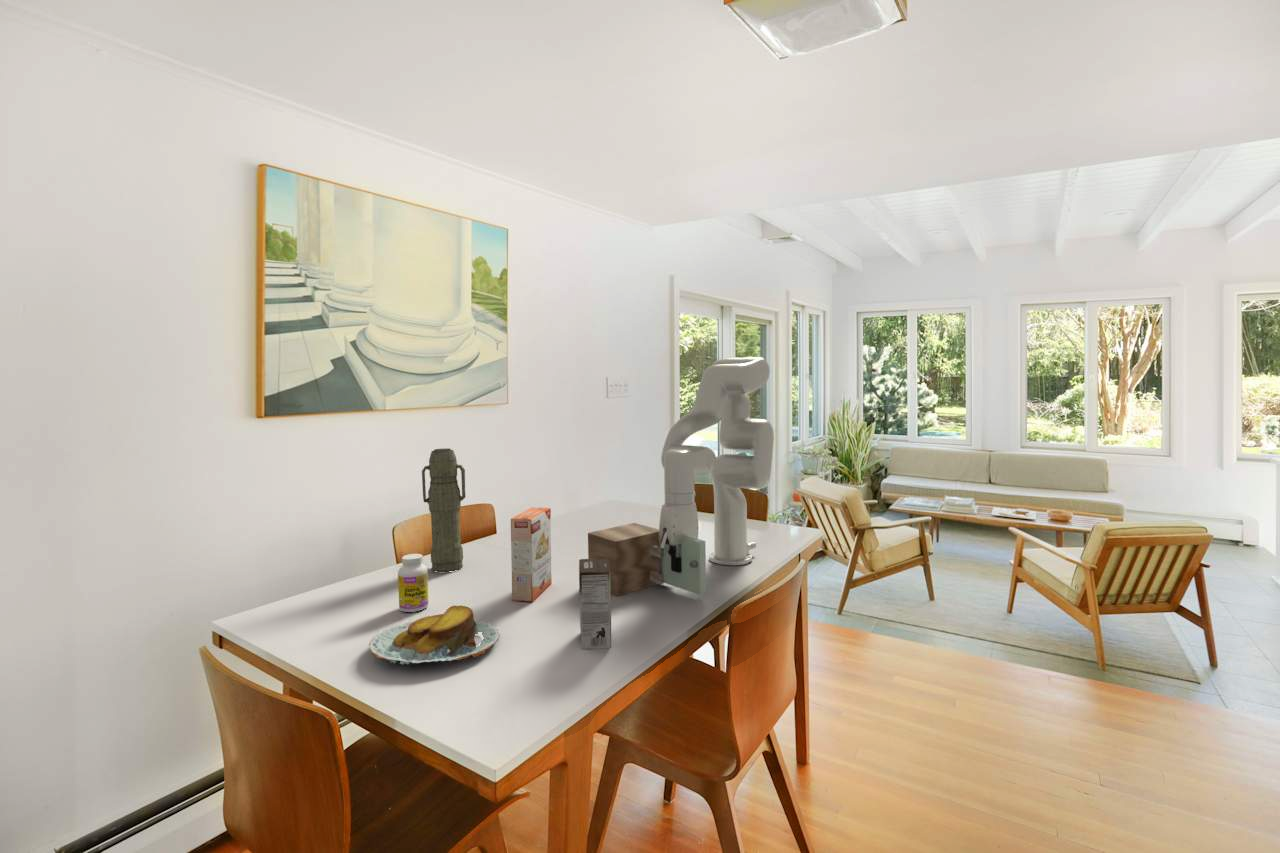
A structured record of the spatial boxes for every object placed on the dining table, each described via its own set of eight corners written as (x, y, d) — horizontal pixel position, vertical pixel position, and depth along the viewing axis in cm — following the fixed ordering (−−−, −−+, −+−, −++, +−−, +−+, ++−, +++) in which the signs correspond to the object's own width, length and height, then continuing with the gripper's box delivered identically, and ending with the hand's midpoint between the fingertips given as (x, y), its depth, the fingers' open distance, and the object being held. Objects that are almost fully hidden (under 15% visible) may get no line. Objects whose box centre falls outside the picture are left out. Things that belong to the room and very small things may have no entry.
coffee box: (580, 631, 133) (579, 558, 131) (610, 629, 133) (609, 557, 132) (580, 649, 124) (578, 571, 122) (612, 648, 124) (610, 570, 123)
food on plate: (363, 640, 131) (361, 610, 130) (479, 616, 143) (478, 588, 143) (380, 691, 109) (379, 655, 108) (515, 657, 121) (514, 625, 121)
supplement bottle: (401, 615, 143) (398, 562, 142) (397, 606, 149) (395, 554, 148) (430, 610, 146) (428, 557, 145) (426, 601, 152) (424, 550, 151)
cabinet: (635, 571, 173) (634, 522, 172) (674, 585, 161) (674, 533, 160) (589, 584, 163) (587, 532, 162) (627, 600, 150) (626, 544, 149)
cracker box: (534, 603, 150) (531, 519, 148) (511, 601, 151) (508, 518, 150) (553, 584, 164) (551, 506, 162) (532, 582, 165) (530, 506, 163)
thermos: (470, 569, 177) (465, 449, 174) (427, 575, 173) (421, 452, 170) (467, 561, 185) (462, 446, 182) (425, 566, 181) (420, 449, 178)
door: (664, 578, 161) (663, 530, 161) (706, 593, 150) (705, 540, 149) (654, 581, 159) (654, 532, 158) (696, 596, 148) (696, 543, 147)
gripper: (691, 492, 162) (691, 561, 163) (645, 500, 151) (646, 573, 153) (712, 496, 156) (712, 567, 157) (666, 505, 146) (667, 580, 147)
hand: (680, 569), depth 155 cm, fingers closed on door, 2 cm apart
